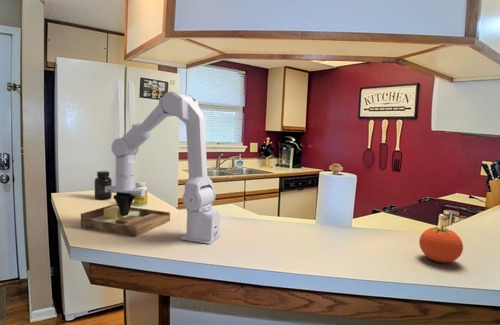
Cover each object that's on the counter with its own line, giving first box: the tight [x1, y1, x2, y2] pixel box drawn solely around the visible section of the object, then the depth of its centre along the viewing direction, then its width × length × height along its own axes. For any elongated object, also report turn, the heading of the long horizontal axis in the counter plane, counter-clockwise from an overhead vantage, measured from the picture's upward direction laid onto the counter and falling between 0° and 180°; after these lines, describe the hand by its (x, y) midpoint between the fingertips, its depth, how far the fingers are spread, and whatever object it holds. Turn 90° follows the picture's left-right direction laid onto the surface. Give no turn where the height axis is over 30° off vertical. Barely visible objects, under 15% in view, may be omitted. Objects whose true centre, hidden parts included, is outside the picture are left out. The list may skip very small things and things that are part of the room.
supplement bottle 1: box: [94, 170, 113, 201], centre depth 142 cm, size 7×7×12 cm
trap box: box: [80, 203, 171, 238], centre depth 107 cm, size 20×19×4 cm
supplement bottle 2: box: [133, 181, 148, 207], centre depth 134 cm, size 5×5×10 cm
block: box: [104, 206, 124, 219], centre depth 109 cm, size 5×5×3 cm
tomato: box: [418, 225, 464, 263], centre depth 87 cm, size 10×10×10 cm
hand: (124, 215), depth 108 cm, fingers closed
